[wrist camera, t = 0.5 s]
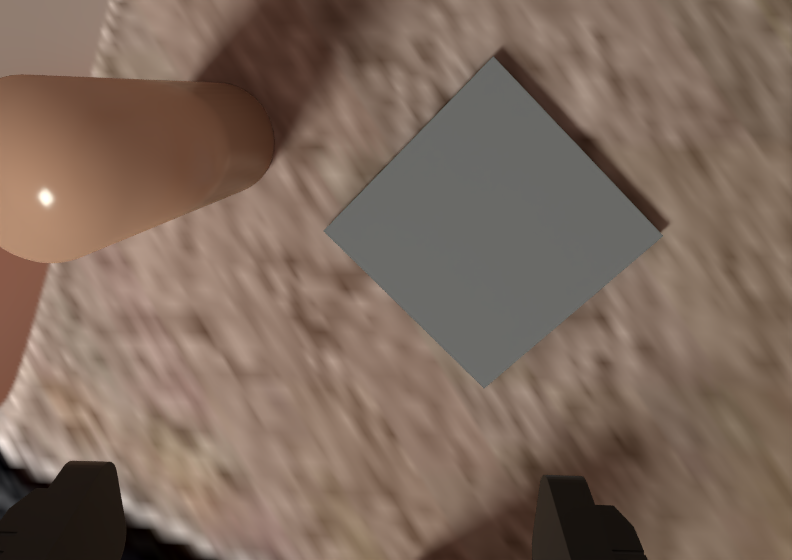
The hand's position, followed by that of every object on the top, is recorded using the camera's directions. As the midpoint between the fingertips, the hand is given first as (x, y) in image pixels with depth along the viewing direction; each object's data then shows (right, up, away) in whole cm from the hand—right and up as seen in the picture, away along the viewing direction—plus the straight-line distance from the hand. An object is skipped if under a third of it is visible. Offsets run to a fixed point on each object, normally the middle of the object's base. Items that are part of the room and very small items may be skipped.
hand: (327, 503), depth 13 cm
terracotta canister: (-7, +11, +19) cm, 23 cm away
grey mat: (+6, +7, +19) cm, 21 cm away
